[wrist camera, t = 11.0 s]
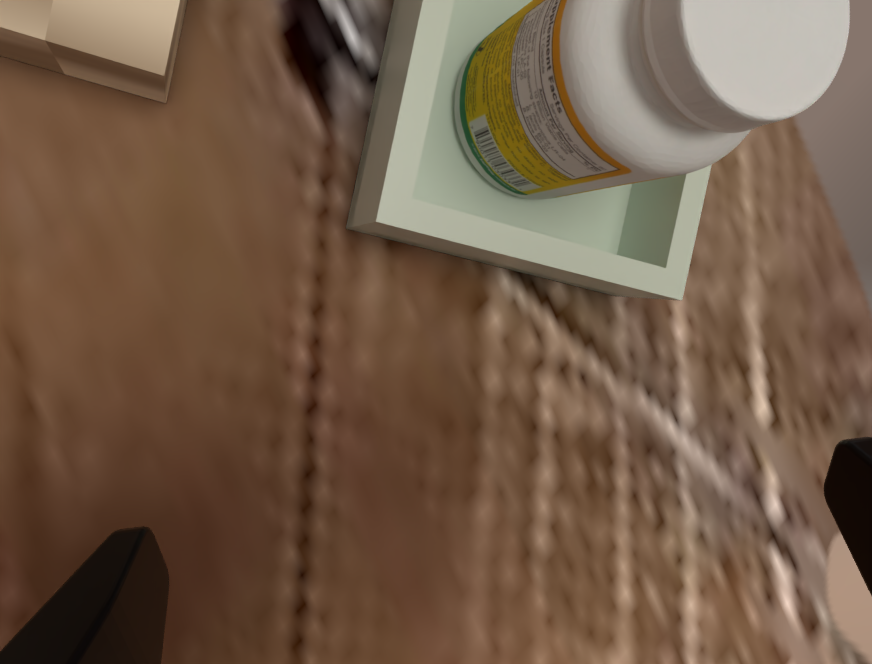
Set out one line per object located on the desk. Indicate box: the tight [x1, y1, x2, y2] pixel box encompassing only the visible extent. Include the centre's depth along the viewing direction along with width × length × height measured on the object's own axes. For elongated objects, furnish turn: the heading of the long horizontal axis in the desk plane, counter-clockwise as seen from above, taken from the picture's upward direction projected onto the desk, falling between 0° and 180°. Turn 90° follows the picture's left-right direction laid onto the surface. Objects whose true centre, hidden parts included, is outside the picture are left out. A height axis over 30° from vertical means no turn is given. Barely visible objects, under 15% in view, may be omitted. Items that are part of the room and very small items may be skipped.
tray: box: [346, 0, 712, 300], centre depth 21 cm, size 10×10×4 cm
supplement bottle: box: [454, 0, 850, 200], centre depth 18 cm, size 5×5×10 cm
